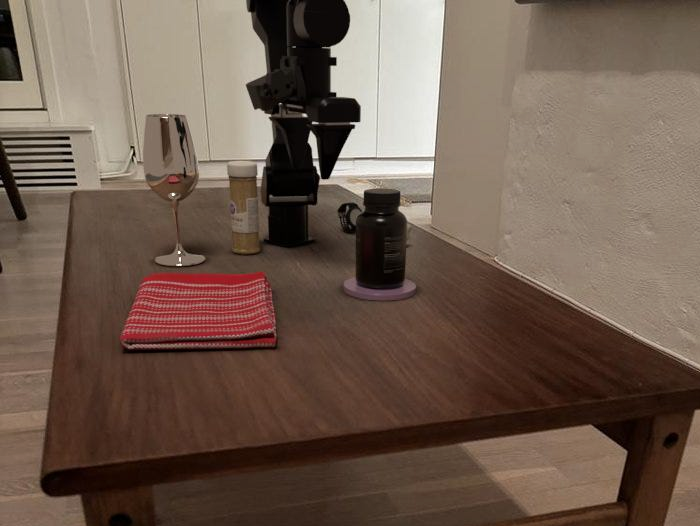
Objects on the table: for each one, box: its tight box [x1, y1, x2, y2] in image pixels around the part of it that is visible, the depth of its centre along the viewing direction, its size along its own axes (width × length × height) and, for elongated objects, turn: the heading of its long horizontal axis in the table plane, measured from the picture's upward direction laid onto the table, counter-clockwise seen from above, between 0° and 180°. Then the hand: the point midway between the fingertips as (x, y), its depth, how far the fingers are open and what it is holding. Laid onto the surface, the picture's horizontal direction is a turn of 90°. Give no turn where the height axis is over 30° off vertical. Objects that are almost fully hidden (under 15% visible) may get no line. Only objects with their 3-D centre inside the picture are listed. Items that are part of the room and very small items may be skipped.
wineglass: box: [142, 113, 206, 268], centre depth 108 cm, size 8×8×20 cm
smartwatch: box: [336, 202, 363, 233], centre depth 133 cm, size 4×5×5 cm
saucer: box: [342, 276, 417, 302], centre depth 101 cm, size 10×10×1 cm
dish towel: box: [119, 270, 278, 351], centre depth 89 cm, size 17×24×3 cm
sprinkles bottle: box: [226, 160, 261, 256], centre depth 115 cm, size 5×5×14 cm
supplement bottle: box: [355, 187, 408, 289], centre depth 98 cm, size 7×7×12 cm
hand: (310, 174), depth 105 cm, fingers open, 9 cm apart
